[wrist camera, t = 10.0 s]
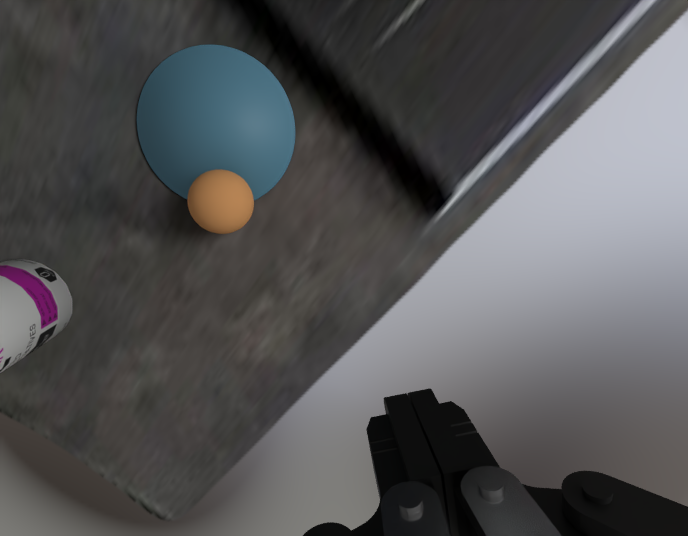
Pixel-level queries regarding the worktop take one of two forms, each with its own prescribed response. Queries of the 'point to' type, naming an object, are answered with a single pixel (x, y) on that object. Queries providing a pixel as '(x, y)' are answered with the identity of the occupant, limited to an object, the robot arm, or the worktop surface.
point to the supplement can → (30, 308)
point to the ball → (220, 201)
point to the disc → (215, 119)
